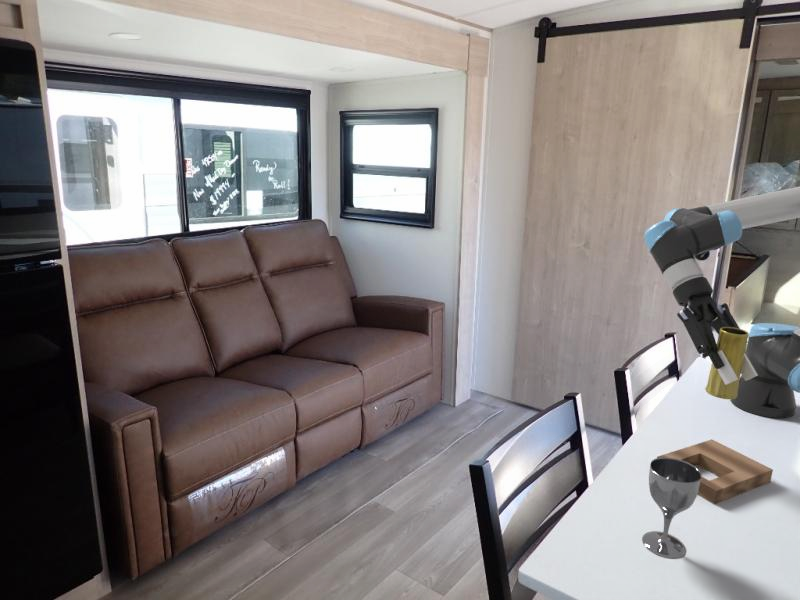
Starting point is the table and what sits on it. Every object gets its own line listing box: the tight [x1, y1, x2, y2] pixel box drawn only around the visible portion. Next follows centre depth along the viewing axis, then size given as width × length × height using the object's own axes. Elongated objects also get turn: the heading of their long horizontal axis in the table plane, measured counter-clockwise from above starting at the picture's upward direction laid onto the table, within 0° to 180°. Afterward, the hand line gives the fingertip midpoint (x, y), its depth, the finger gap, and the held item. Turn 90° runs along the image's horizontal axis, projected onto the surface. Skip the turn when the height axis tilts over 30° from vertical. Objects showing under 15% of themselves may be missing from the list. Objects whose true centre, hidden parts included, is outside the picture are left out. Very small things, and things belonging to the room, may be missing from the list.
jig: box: [656, 439, 774, 505], centre depth 123 cm, size 18×14×3 cm
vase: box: [704, 327, 750, 400], centre depth 121 cm, size 6×6×14 cm
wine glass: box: [641, 457, 703, 560], centre depth 99 cm, size 8×8×15 cm
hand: (741, 379), depth 118 cm, fingers closed on vase, 5 cm apart
